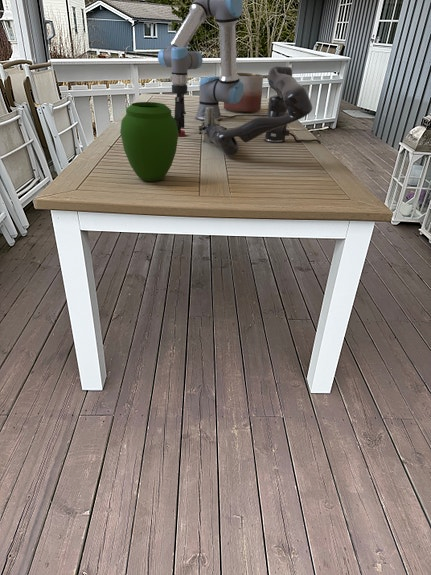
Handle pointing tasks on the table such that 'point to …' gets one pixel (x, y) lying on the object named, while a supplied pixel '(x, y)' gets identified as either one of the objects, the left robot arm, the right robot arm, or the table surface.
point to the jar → (208, 121)
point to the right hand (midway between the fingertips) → (207, 126)
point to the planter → (248, 94)
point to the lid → (182, 133)
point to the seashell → (214, 122)
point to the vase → (149, 139)
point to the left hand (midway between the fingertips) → (180, 130)
